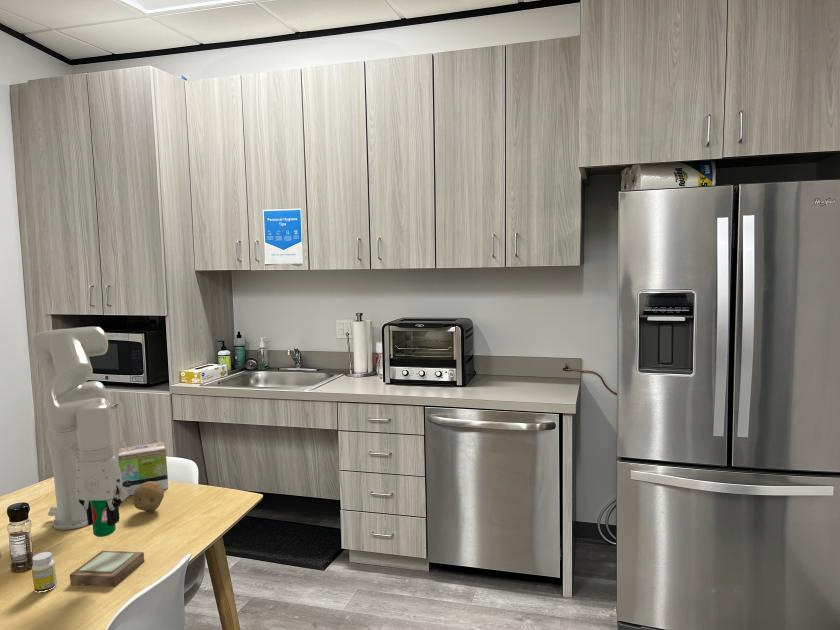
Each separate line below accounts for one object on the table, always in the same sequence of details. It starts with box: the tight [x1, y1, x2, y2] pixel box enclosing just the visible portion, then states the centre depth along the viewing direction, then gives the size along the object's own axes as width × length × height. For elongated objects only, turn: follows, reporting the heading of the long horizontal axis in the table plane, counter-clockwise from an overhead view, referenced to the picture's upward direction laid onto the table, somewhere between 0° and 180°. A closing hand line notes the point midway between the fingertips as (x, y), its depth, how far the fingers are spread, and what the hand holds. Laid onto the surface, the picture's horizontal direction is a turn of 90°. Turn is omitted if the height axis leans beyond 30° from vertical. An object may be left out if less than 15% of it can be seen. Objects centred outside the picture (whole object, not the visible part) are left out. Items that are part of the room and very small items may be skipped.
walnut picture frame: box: [69, 550, 145, 588], centre depth 153 cm, size 12×12×3 cm
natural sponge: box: [132, 481, 165, 514], centre depth 188 cm, size 9×9×10 cm
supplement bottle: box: [31, 551, 58, 592], centre depth 146 cm, size 5×5×8 cm
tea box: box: [117, 441, 169, 496], centre depth 209 cm, size 15×10×15 cm
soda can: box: [90, 499, 117, 538], centre depth 151 cm, size 5×5×12 cm
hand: (103, 522), depth 151 cm, fingers closed on soda can, 5 cm apart
